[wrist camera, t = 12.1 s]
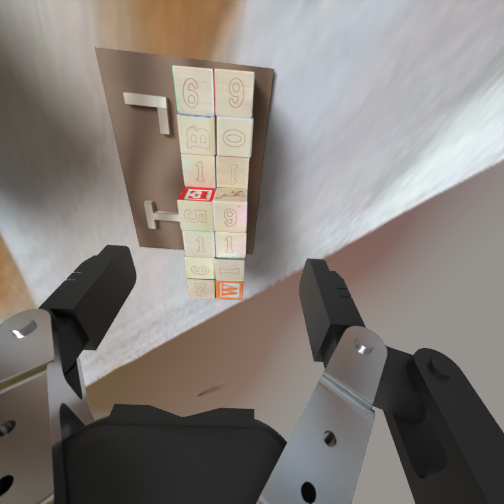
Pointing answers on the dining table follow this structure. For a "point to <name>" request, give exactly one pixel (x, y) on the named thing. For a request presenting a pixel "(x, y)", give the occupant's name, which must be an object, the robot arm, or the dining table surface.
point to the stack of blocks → (214, 176)
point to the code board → (167, 139)
